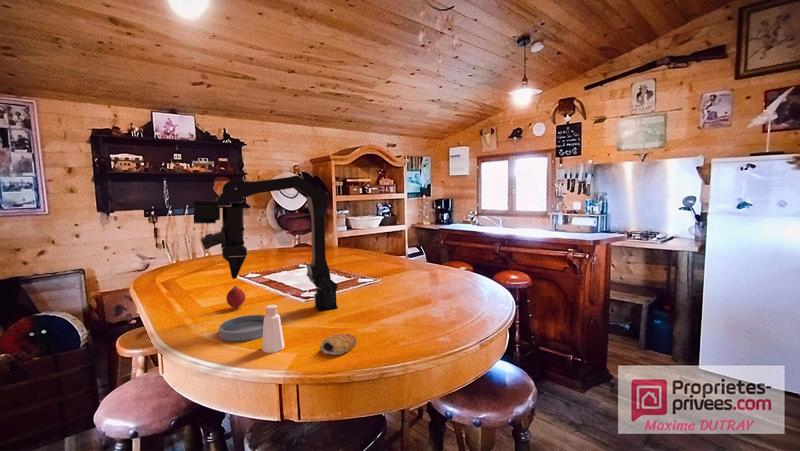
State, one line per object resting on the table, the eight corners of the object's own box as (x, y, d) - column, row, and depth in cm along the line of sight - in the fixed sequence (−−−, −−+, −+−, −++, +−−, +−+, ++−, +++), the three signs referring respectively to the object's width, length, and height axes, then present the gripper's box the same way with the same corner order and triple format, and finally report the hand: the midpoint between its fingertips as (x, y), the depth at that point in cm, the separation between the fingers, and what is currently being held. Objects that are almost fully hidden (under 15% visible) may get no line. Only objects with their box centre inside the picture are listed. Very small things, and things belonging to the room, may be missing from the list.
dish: (271, 320, 114) (270, 312, 114) (275, 336, 101) (274, 327, 101) (220, 327, 109) (220, 319, 109) (218, 345, 96) (217, 336, 96)
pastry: (344, 339, 99) (343, 325, 99) (363, 345, 95) (363, 331, 95) (317, 352, 92) (317, 337, 91) (337, 359, 88) (337, 343, 87)
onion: (238, 311, 122) (237, 288, 122) (223, 310, 124) (221, 287, 123) (249, 306, 128) (248, 283, 127) (234, 305, 129) (233, 282, 129)
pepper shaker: (257, 351, 92) (254, 308, 91) (271, 343, 97) (269, 301, 96) (275, 354, 90) (273, 310, 89) (289, 345, 95) (287, 303, 94)
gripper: (203, 220, 115) (203, 270, 116) (201, 226, 98) (202, 284, 100) (242, 220, 120) (242, 268, 121) (246, 226, 103) (247, 281, 105)
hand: (233, 275), depth 112 cm, fingers open, 9 cm apart
